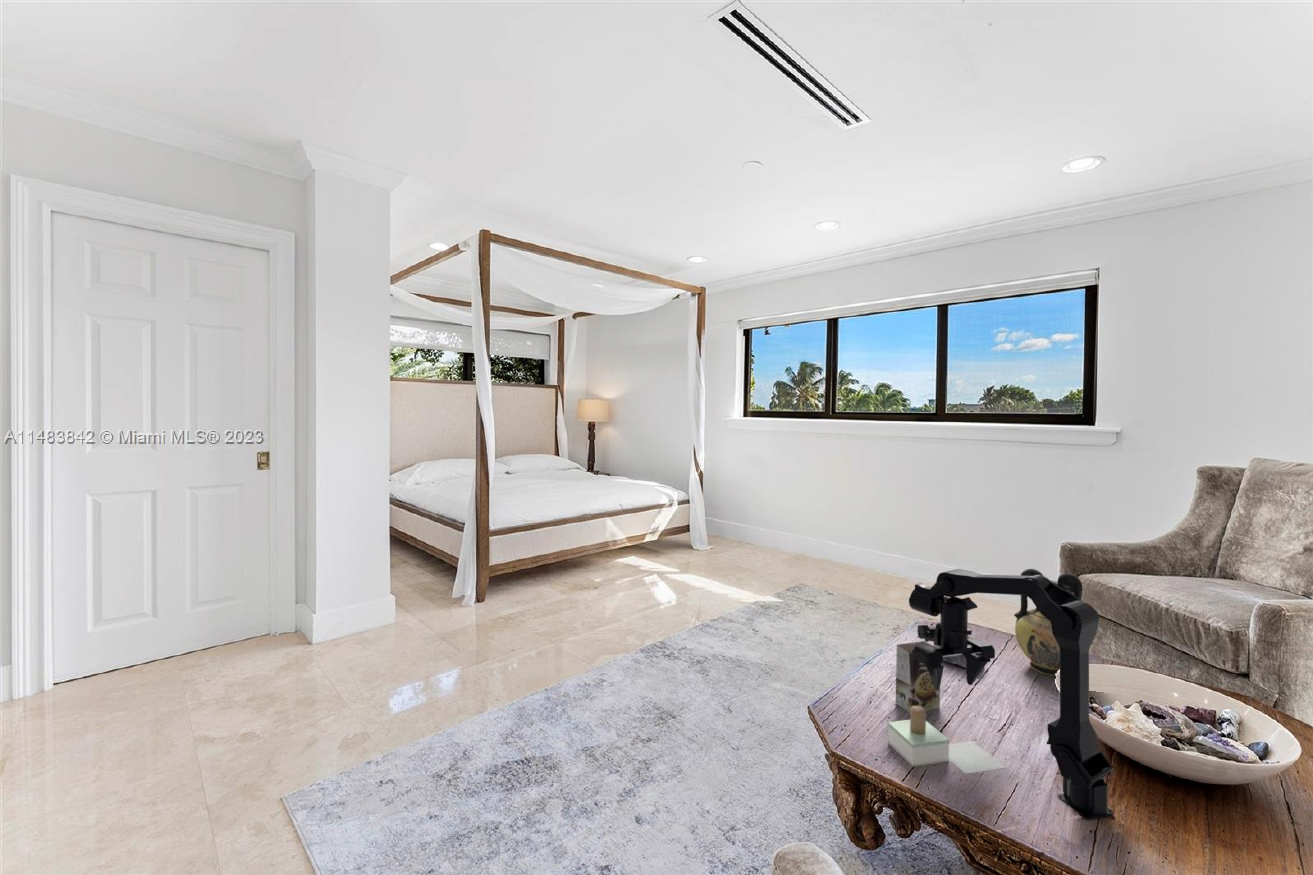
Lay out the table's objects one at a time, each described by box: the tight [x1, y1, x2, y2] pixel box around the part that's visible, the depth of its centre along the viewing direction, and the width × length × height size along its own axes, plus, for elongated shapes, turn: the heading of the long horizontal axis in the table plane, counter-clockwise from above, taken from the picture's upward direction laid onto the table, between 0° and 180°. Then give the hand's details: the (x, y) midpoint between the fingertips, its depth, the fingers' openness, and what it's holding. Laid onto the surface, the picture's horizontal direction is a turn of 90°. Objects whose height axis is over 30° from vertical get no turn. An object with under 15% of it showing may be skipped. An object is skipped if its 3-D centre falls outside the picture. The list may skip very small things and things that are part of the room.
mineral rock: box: [933, 635, 975, 669], centre depth 174 cm, size 13×11×10 cm
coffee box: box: [895, 640, 941, 713], centre depth 148 cm, size 9×6×16 cm
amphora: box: [1014, 568, 1084, 677], centre depth 167 cm, size 18×17×30 cm
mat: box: [949, 740, 1006, 775], centre depth 126 cm, size 10×10×1 cm
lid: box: [887, 706, 950, 748], centre depth 128 cm, size 9×9×6 cm
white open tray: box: [887, 726, 950, 768], centre depth 128 cm, size 9×9×4 cm
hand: (953, 686), depth 135 cm, fingers open, 9 cm apart
